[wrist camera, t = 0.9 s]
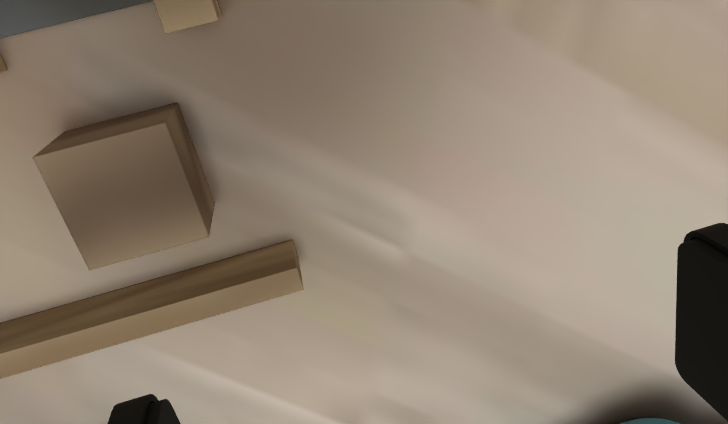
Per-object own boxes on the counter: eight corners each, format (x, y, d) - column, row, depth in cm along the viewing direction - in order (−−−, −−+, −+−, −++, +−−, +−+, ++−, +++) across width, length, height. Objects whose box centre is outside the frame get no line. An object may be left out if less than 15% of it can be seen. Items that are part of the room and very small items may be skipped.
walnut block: (65, 130, 24) (32, 157, 21) (178, 101, 25) (165, 122, 21) (111, 230, 26) (88, 270, 23) (214, 201, 27) (209, 236, 23)
